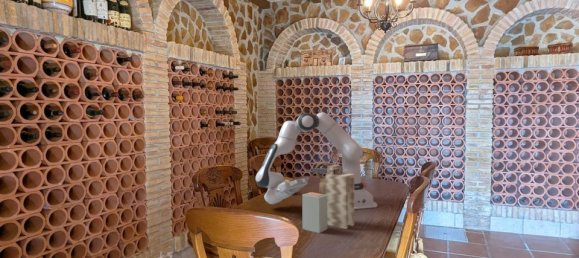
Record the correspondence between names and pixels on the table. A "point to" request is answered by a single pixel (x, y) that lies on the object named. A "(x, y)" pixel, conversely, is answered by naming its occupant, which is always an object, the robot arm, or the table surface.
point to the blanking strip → (322, 170)
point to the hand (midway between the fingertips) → (302, 179)
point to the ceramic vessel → (322, 180)
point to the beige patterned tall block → (339, 197)
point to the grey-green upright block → (314, 212)
